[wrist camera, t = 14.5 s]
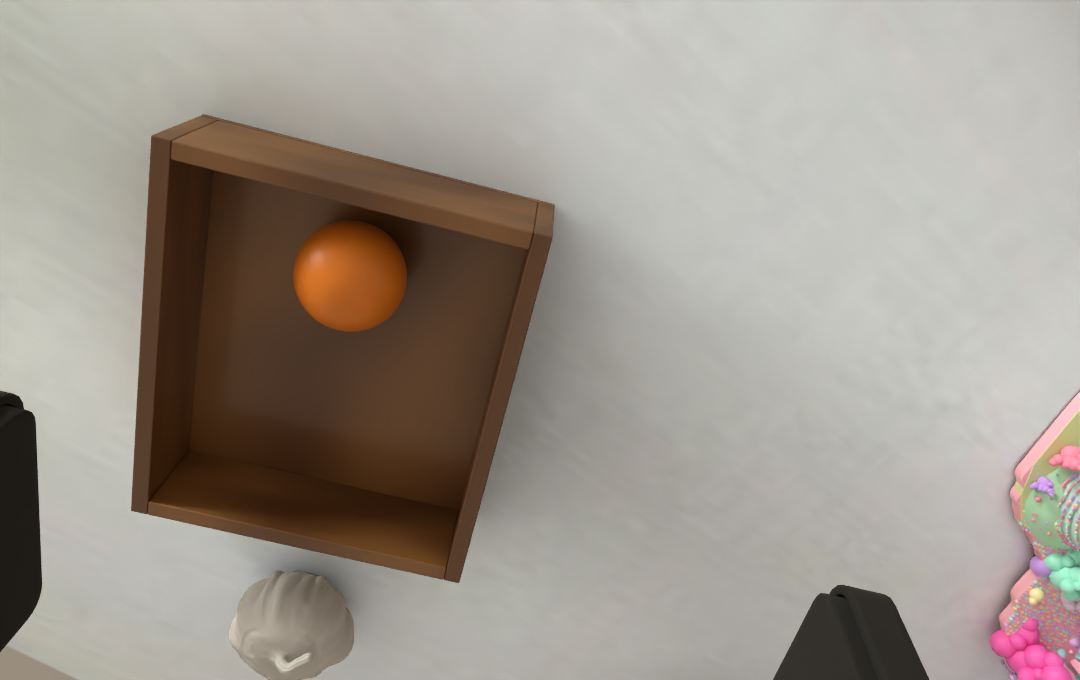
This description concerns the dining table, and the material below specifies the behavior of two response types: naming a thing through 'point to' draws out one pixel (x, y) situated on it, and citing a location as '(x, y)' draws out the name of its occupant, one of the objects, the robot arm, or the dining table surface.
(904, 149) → the dining table surface
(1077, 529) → the colourful coral reef
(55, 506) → the dining table surface
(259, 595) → the garlic
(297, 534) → the wooden tray
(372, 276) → the mandarin
